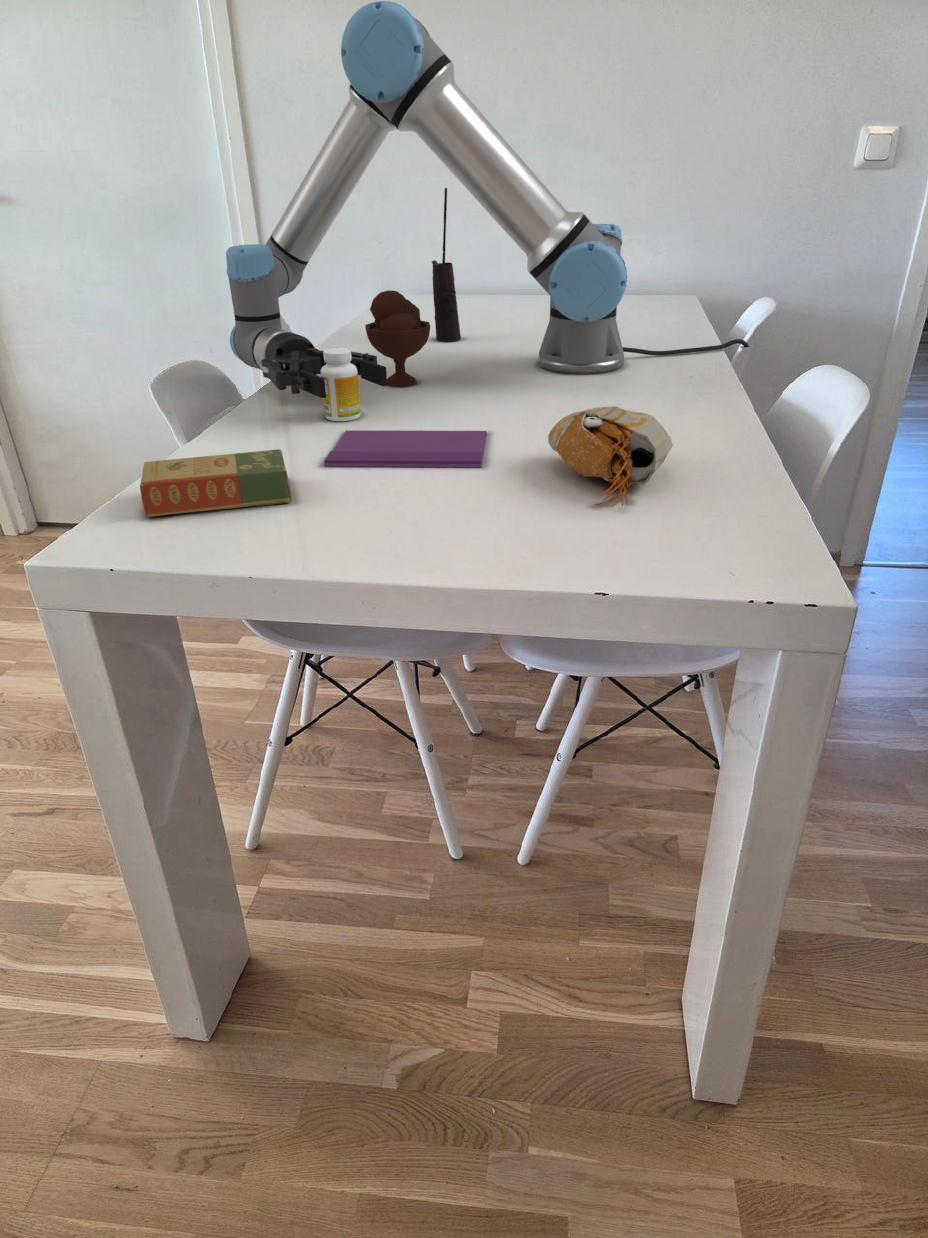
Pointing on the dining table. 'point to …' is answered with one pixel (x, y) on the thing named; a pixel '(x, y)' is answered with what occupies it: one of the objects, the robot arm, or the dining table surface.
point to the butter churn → (445, 295)
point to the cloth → (408, 449)
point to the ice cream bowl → (397, 333)
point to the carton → (214, 482)
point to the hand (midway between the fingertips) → (354, 382)
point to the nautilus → (612, 445)
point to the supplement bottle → (340, 385)
